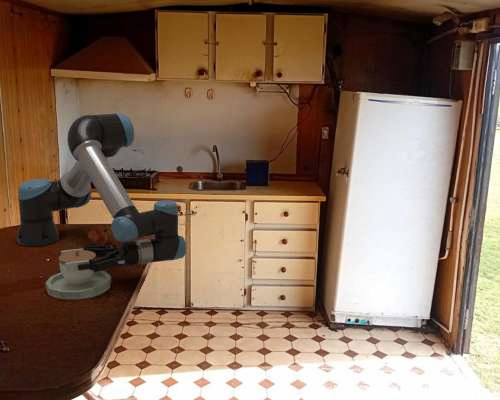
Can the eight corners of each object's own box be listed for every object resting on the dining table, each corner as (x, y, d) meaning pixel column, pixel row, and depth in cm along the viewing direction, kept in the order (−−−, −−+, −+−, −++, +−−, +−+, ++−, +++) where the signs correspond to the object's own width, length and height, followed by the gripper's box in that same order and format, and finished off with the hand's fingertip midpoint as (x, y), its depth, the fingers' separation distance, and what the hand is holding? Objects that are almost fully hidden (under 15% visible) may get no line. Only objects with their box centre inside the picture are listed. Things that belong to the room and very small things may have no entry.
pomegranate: (90, 255, 195) (112, 239, 195) (77, 240, 193) (99, 224, 193) (94, 251, 202) (115, 235, 202) (81, 236, 201) (102, 220, 201)
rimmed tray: (58, 275, 169) (57, 268, 169) (116, 276, 170) (115, 269, 169) (38, 299, 151) (37, 291, 151) (102, 300, 152) (102, 292, 152)
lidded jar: (86, 288, 154) (84, 258, 152) (53, 284, 156) (50, 254, 154) (103, 275, 164) (102, 246, 162) (72, 271, 166) (70, 243, 164)
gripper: (146, 276, 157) (68, 287, 148) (129, 252, 177) (60, 260, 168) (145, 252, 155) (67, 262, 146) (128, 231, 175) (58, 238, 166)
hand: (63, 261), depth 157 cm, fingers closed on lidded jar, 11 cm apart
